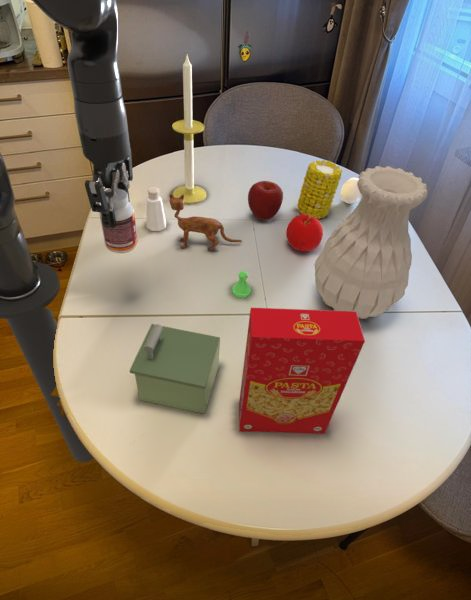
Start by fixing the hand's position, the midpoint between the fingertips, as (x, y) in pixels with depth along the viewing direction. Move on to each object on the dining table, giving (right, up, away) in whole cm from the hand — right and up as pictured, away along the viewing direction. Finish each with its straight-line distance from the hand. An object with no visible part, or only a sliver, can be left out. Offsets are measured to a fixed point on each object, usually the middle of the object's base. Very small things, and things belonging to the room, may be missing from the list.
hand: (117, 216), depth 77 cm
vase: (+48, -16, +19) cm, 54 cm away
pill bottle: (0, -5, +5) cm, 7 cm away
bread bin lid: (+12, -25, -5) cm, 28 cm away
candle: (+8, +16, +47) cm, 51 cm away
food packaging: (+30, -37, -3) cm, 47 cm away
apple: (+30, +8, +42) cm, 52 cm away
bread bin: (+12, -31, +1) cm, 33 cm away
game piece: (+23, -14, +19) cm, 33 cm away
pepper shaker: (+1, +4, +35) cm, 35 cm away
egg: (+56, +14, +50) cm, 76 cm away
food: (+45, +10, +45) cm, 64 cm away
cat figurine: (+14, -1, +31) cm, 34 cm away
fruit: (+39, -2, +33) cm, 51 cm away
